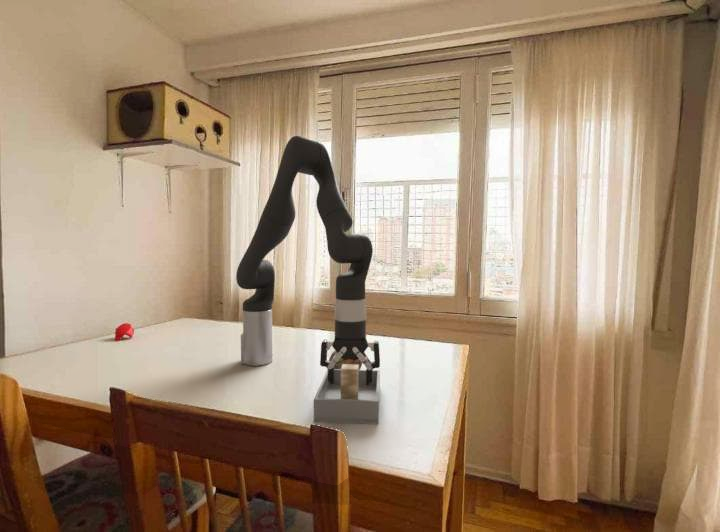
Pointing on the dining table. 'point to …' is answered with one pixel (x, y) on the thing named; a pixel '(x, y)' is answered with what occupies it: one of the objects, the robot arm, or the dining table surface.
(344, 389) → the wooden block
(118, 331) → the cap
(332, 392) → the bin
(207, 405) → the dining table surface
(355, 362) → the tin
